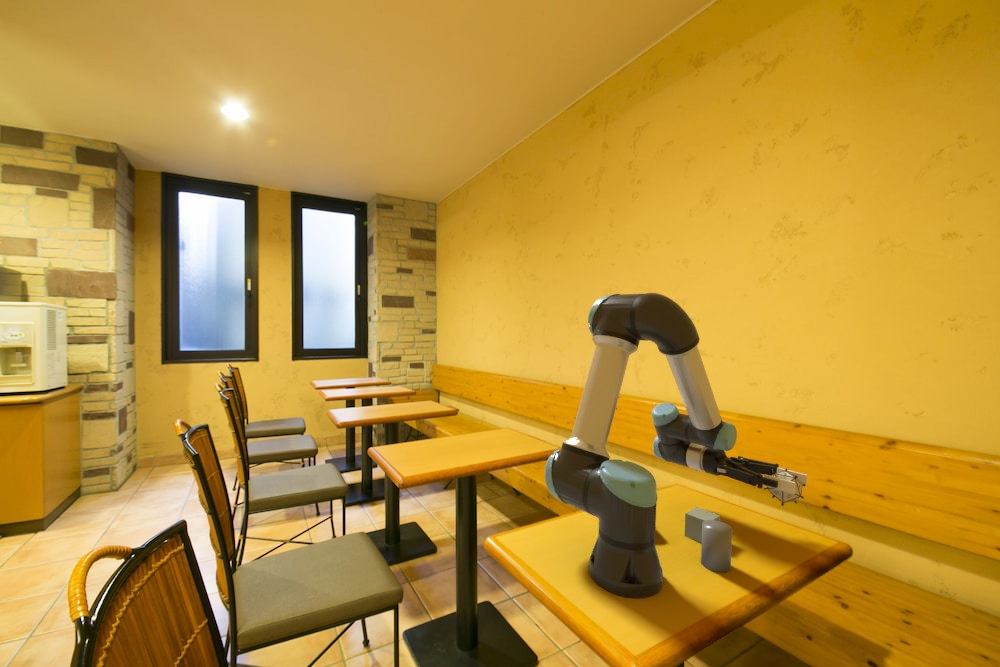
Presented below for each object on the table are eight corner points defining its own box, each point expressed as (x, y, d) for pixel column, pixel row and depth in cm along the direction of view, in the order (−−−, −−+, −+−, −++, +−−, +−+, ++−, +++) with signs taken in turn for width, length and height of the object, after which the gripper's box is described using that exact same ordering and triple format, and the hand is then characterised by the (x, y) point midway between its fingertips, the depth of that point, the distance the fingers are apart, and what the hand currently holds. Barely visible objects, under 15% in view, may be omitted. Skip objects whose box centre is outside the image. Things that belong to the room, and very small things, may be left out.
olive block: (684, 536, 109) (685, 513, 109) (696, 529, 112) (697, 507, 112) (707, 546, 104) (708, 522, 104) (719, 538, 108) (720, 515, 108)
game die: (792, 519, 105) (820, 498, 99) (758, 504, 107) (783, 482, 101) (785, 490, 113) (810, 469, 107) (753, 477, 114) (776, 454, 108)
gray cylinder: (695, 563, 96) (697, 524, 96) (708, 555, 100) (709, 517, 100) (723, 576, 92) (724, 535, 91) (735, 566, 95) (736, 527, 95)
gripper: (723, 464, 128) (813, 489, 110) (688, 479, 115) (784, 510, 97) (724, 440, 127) (815, 461, 110) (689, 452, 114) (786, 478, 97)
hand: (800, 484), depth 103 cm, fingers closed on game die, 8 cm apart
